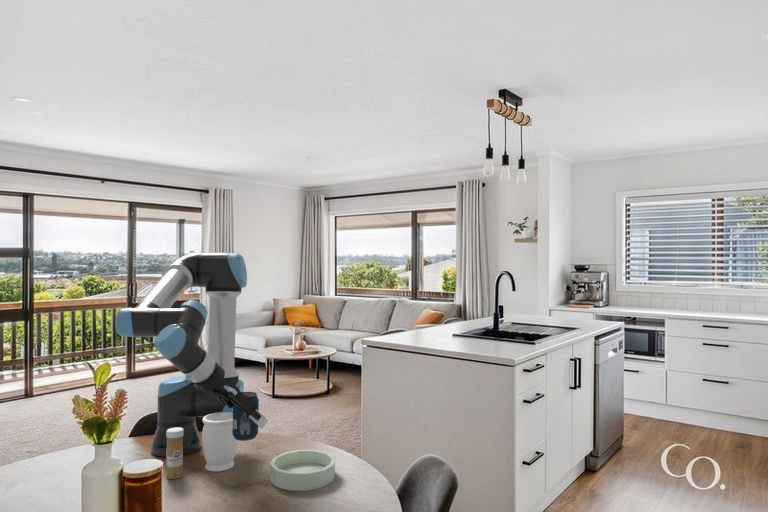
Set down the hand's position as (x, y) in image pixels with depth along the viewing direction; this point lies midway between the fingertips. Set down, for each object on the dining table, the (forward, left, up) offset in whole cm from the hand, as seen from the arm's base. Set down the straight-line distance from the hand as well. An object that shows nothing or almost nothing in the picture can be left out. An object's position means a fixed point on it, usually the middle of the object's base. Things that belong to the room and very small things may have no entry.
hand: (256, 421), depth 147 cm
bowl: (+5, +12, -16) cm, 21 cm away
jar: (-14, -7, -17) cm, 23 cm away
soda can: (+1, -3, -4) cm, 5 cm away
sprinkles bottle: (-13, -20, -17) cm, 29 cm away
